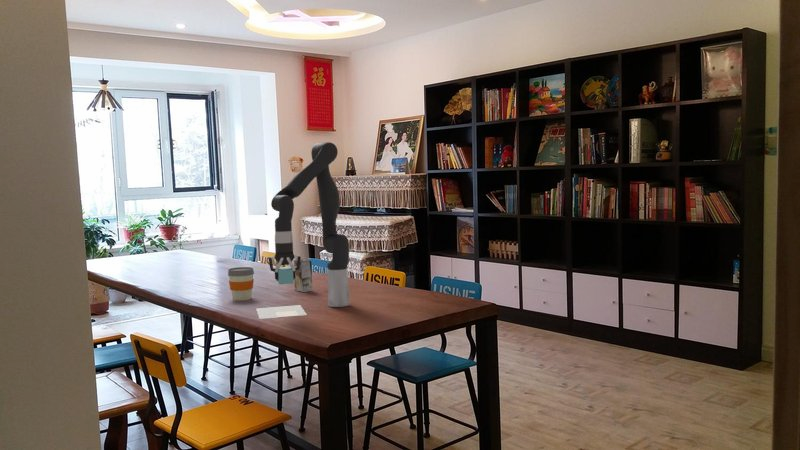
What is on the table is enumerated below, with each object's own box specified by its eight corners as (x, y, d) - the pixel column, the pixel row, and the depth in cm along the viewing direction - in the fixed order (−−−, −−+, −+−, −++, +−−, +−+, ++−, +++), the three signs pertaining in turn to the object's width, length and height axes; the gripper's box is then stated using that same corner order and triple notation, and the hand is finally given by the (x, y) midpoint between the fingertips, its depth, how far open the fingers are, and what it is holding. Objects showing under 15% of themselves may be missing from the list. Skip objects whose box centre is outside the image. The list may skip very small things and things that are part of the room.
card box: (293, 283, 260) (293, 269, 260) (279, 284, 259) (278, 270, 258) (291, 280, 269) (290, 266, 268) (277, 281, 267) (276, 267, 267)
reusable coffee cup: (248, 301, 297) (246, 270, 296) (224, 300, 300) (223, 270, 299) (259, 296, 309) (258, 267, 308) (236, 296, 312) (235, 266, 311)
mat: (300, 306, 283) (300, 304, 283) (307, 316, 262) (307, 314, 262) (256, 309, 277) (256, 308, 277) (259, 320, 256) (259, 318, 256)
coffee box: (313, 290, 322) (312, 260, 320) (302, 292, 318) (301, 261, 317) (304, 288, 329) (303, 259, 328) (294, 290, 325) (293, 260, 324)
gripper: (267, 243, 257) (269, 282, 258) (301, 241, 261) (303, 280, 262) (266, 241, 264) (267, 280, 265) (299, 239, 268) (301, 277, 269)
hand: (285, 280), depth 264 cm, fingers closed on card box, 6 cm apart
